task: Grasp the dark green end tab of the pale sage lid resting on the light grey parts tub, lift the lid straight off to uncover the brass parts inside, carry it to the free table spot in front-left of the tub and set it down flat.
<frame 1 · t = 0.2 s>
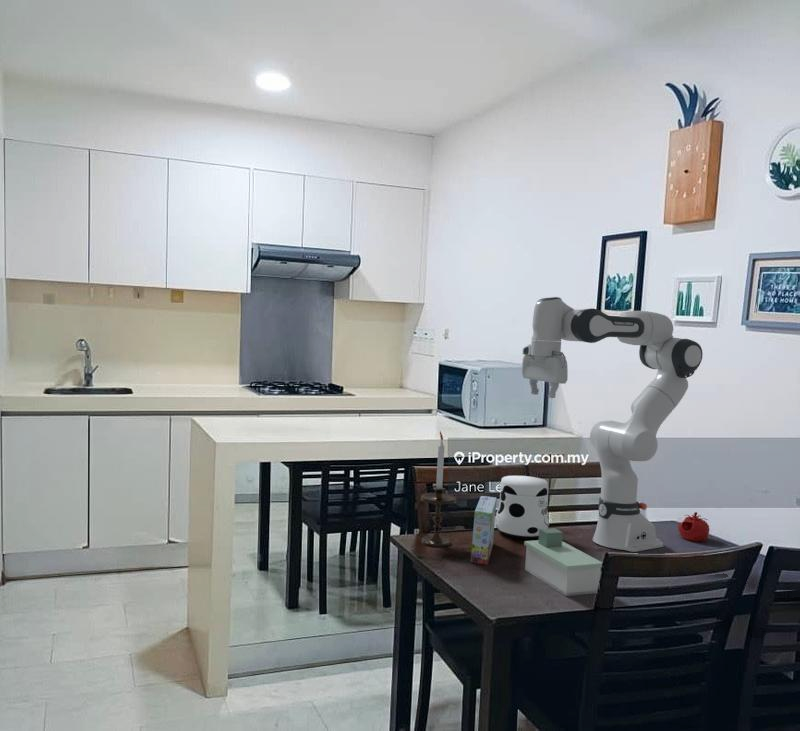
hand: (542, 396, 212), 47 cm above the table, fingers open, 8 cm apart
spotted dog treat jar: (521, 534, 230), on the table
lid: (562, 555, 188), point 7 cm above the table, touching tub
snack box: (482, 553, 209), on the table
candlestick: (436, 543, 216), on the table
pomegranate: (693, 539, 236), on the table
tub: (560, 580, 188), on the table
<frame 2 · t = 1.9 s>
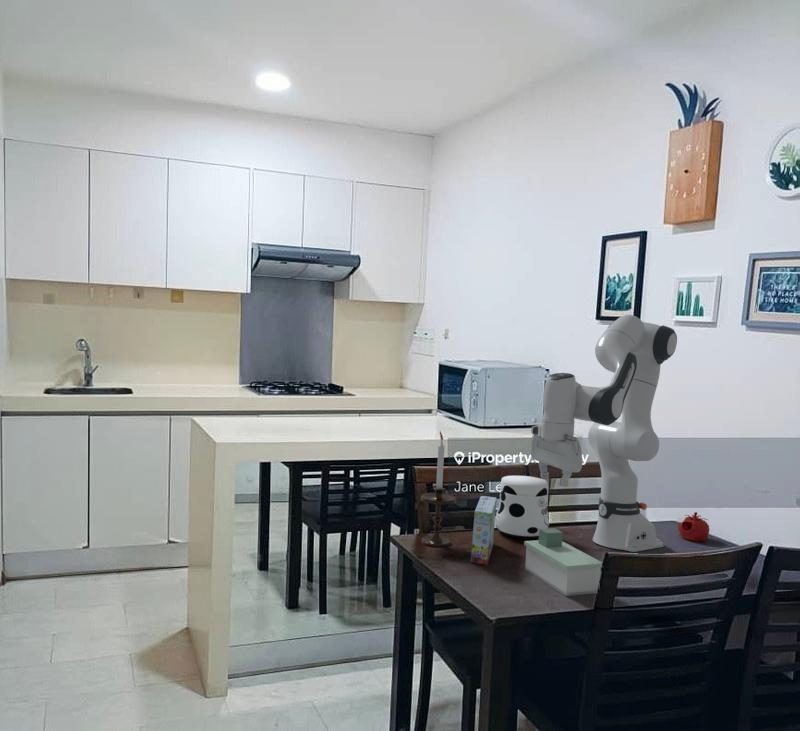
hand: (553, 482, 192), 26 cm above the table, fingers open, 8 cm apart
nothing on the table moved.
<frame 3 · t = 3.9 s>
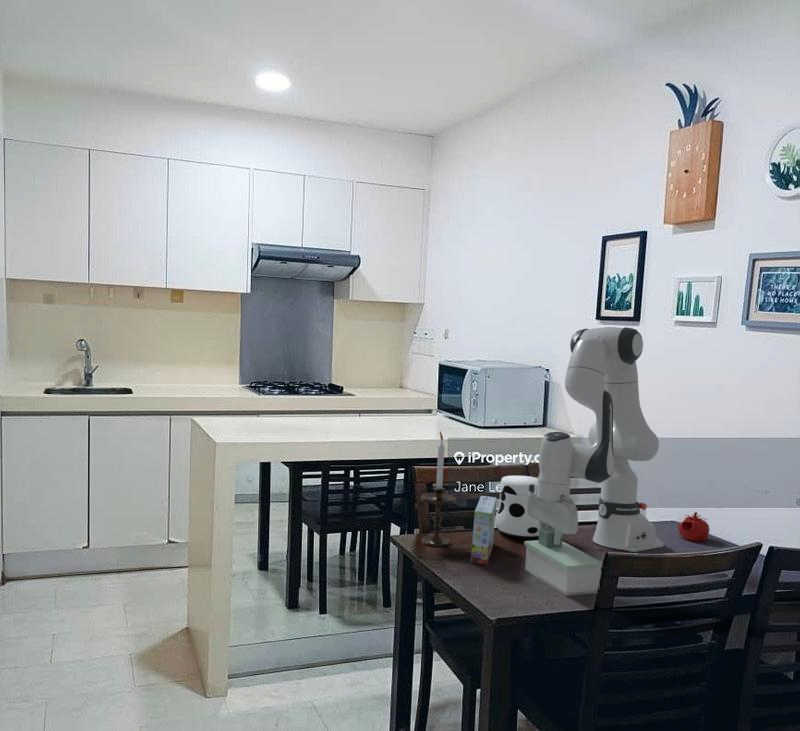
hand: (550, 540, 193), 9 cm above the table, fingers closed on lid, 4 cm apart
lid: (562, 555, 188), point 7 cm above the table, touching gripper, tub
everything else where it was.
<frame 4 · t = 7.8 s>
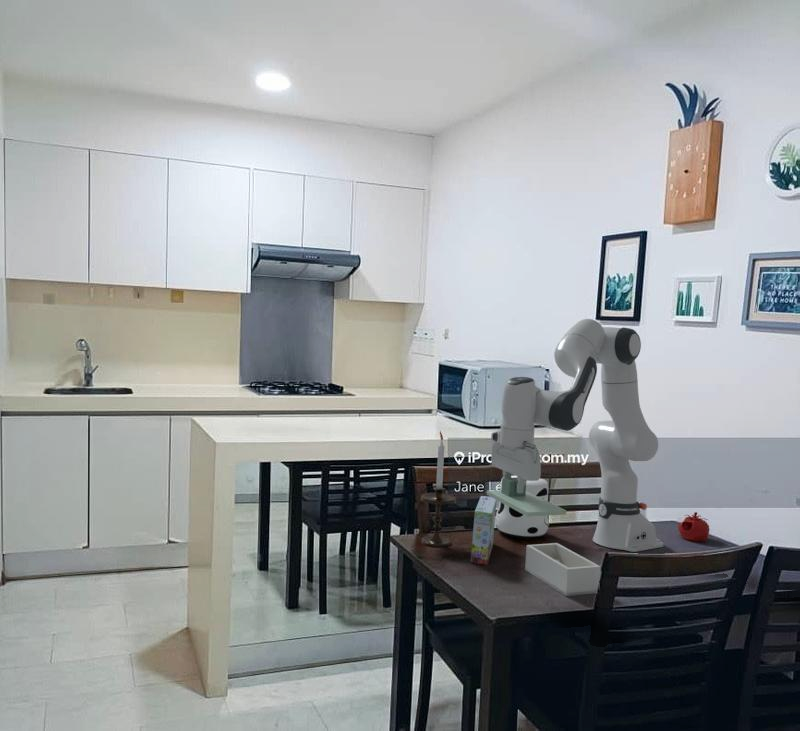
hand: (513, 490, 185), 24 cm above the table, fingers closed on lid, 4 cm apart
lid: (524, 504, 180), point 22 cm above the table, touching gripper
everything else where it was.
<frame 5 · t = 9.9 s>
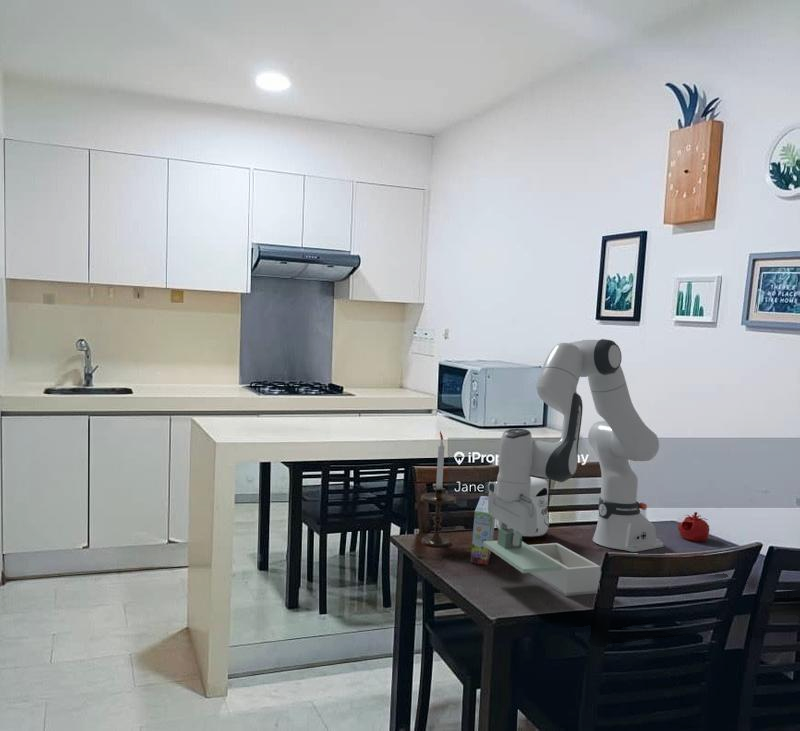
hand: (509, 541, 186), 10 cm above the table, fingers closed on lid, 4 cm apart
lid: (520, 557, 180), point 8 cm above the table, touching gripper
everything else where it was.
when the fingers open (4 cm above the table, at t = 11.7 s): lid stays where it is, on the table.
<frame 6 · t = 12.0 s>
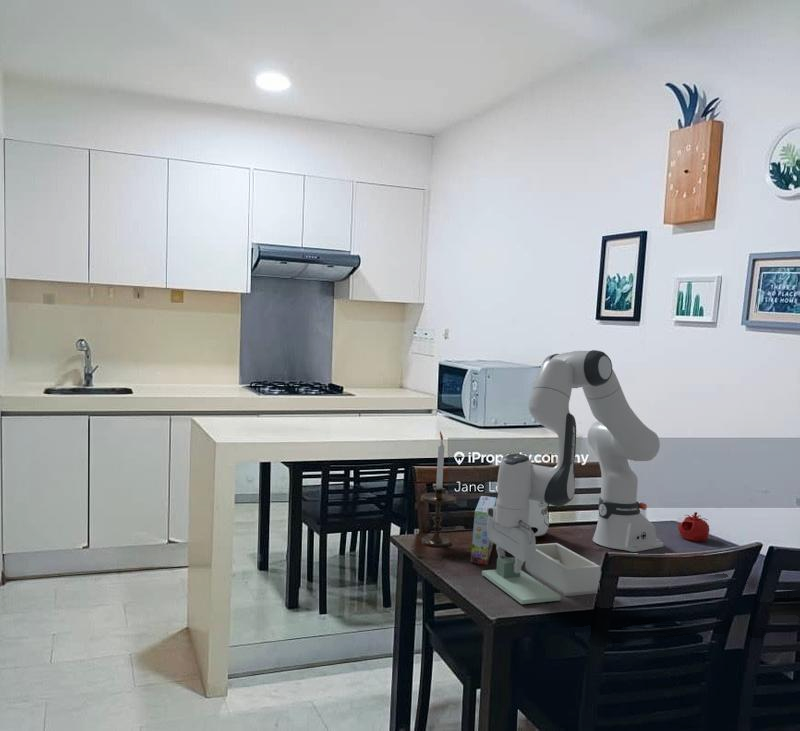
hand: (509, 567, 186), 4 cm above the table, fingers open, 6 cm apart
lid: (519, 586, 181), on the table
everything else where it was.
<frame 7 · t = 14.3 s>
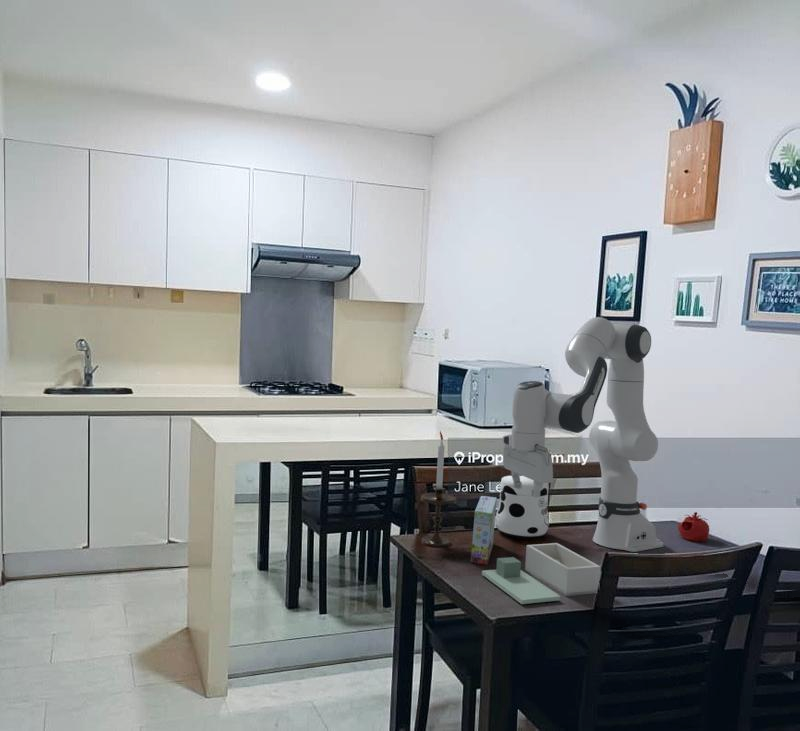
hand: (526, 492, 189), 23 cm above the table, fingers open, 8 cm apart
nothing on the table moved.
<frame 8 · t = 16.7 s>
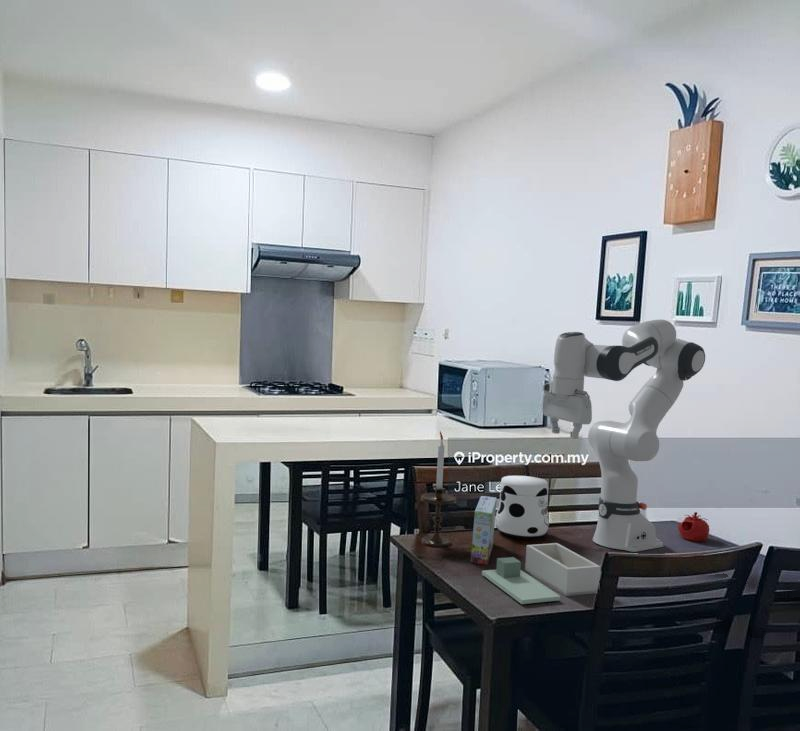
hand: (564, 435, 202), 37 cm above the table, fingers open, 8 cm apart
nothing on the table moved.
at the end: lid inside the target area (0.2 cm from its centre), on the table; lid touching table; lid tilted 0° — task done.
